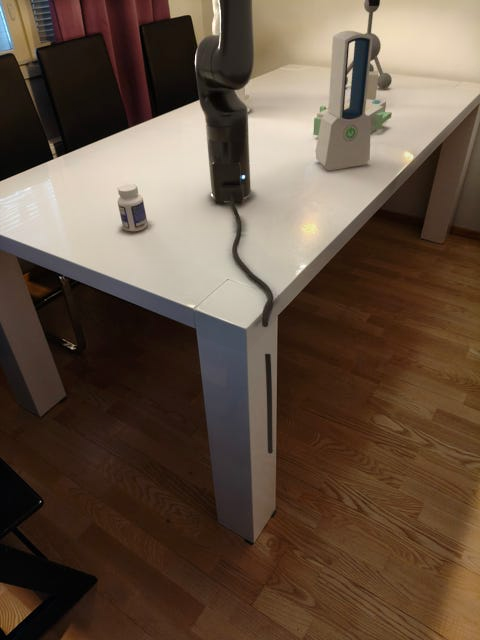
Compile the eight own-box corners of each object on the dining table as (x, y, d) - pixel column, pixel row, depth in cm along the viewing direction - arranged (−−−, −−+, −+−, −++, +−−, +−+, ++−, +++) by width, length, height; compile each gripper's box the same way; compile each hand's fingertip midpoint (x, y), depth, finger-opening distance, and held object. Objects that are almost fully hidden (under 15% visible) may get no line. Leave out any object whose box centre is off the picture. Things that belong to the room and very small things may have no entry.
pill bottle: (149, 220, 107) (142, 181, 102) (146, 231, 103) (138, 191, 98) (125, 221, 107) (116, 182, 102) (121, 232, 103) (112, 193, 98)
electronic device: (325, 171, 125) (333, 37, 106) (314, 161, 130) (320, 32, 112) (369, 164, 127) (385, 32, 108) (356, 155, 133) (369, 28, 114)
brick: (351, 104, 173) (354, 71, 167) (374, 104, 172) (378, 71, 165) (351, 108, 169) (354, 74, 163) (374, 108, 168) (378, 74, 162)
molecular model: (320, 82, 200) (324, -5, 182) (368, 76, 205) (377, -10, 186) (347, 95, 182) (354, 0, 164) (399, 88, 187) (412, -5, 168)
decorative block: (340, 93, 160) (399, 100, 150) (339, 114, 164) (396, 122, 154) (301, 113, 144) (364, 122, 134) (300, 136, 148) (362, 146, 138)
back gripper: (367, -65, 149) (361, 1, 159) (367, -65, 136) (361, 7, 146) (392, -67, 148) (385, 0, 158) (395, -67, 134) (387, 7, 145)
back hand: (373, 4), depth 152 cm, fingers open, 9 cm apart
